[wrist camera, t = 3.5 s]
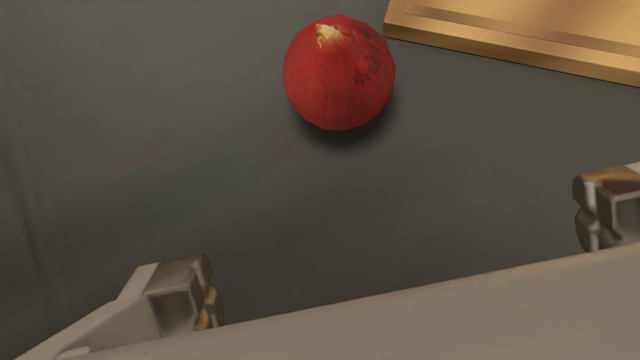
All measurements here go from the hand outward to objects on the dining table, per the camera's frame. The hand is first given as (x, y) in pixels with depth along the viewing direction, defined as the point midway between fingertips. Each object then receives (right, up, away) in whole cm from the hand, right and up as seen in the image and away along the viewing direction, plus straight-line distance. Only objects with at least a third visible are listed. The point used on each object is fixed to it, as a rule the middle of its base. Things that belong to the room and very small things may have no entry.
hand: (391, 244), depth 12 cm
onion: (0, +6, +21) cm, 22 cm away
